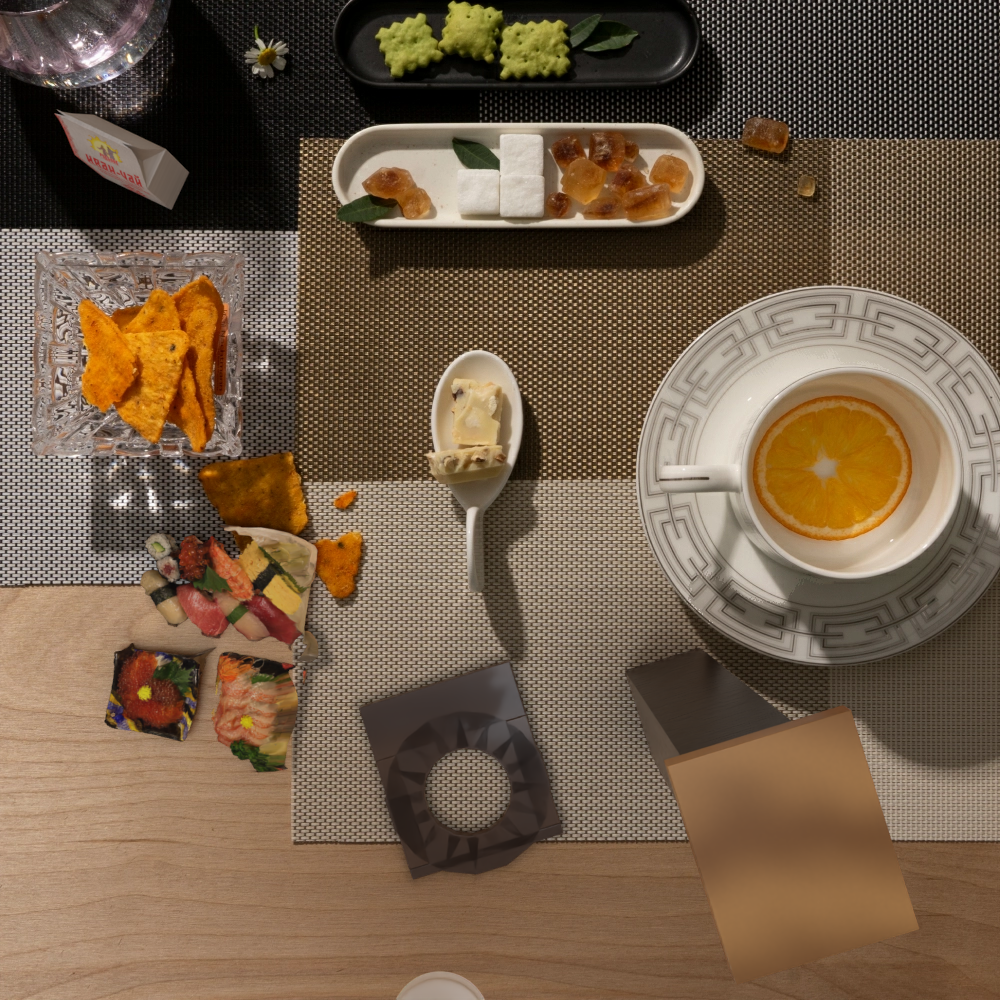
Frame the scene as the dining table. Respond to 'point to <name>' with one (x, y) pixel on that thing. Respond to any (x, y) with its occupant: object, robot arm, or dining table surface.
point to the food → (235, 599)
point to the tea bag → (125, 157)
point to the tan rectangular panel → (791, 844)
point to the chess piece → (440, 988)
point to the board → (447, 728)
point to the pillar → (694, 705)
